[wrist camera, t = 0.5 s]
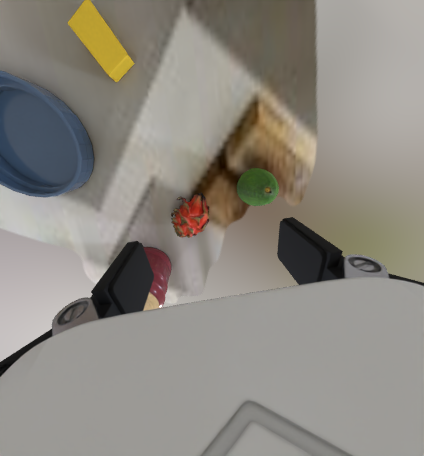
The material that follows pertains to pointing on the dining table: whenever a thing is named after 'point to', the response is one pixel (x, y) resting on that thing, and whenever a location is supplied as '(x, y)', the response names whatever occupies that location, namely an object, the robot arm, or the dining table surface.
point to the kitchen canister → (157, 277)
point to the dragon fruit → (191, 216)
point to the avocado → (257, 187)
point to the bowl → (40, 141)
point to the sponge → (100, 41)
